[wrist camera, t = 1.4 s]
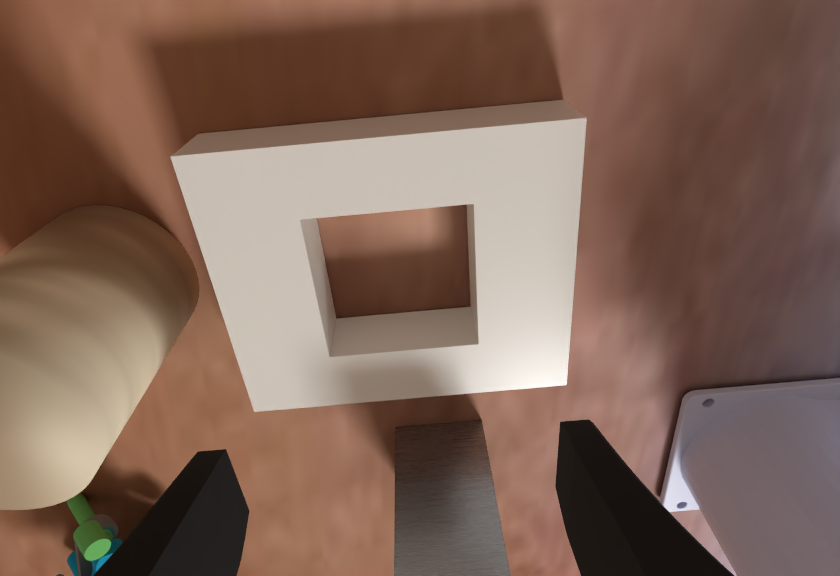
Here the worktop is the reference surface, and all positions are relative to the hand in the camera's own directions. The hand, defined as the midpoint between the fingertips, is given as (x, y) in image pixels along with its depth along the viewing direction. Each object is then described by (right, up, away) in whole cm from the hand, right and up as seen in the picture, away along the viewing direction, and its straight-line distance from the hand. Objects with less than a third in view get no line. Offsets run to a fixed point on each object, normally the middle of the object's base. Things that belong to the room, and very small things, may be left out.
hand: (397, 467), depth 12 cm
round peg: (-11, +4, +9) cm, 15 cm away
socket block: (0, +5, +8) cm, 10 cm away
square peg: (+2, -4, +14) cm, 15 cm away
